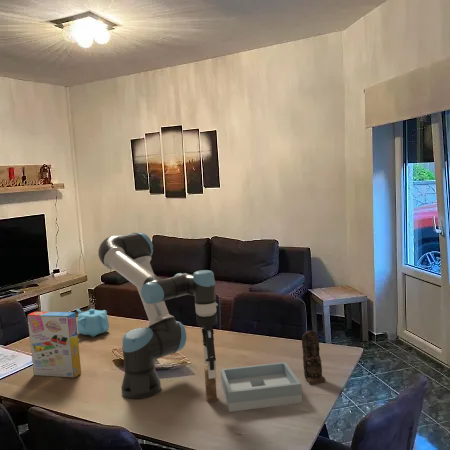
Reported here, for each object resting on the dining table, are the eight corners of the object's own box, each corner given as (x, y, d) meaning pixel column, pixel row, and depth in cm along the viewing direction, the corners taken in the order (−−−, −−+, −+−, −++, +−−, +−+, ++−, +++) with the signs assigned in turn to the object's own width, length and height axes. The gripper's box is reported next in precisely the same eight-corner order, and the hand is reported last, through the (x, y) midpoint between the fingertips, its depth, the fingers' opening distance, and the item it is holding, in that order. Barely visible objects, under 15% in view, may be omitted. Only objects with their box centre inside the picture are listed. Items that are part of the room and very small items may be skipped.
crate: (229, 411, 158) (228, 392, 157) (221, 386, 178) (220, 369, 177) (301, 402, 162) (301, 383, 161) (286, 378, 181) (285, 361, 181)
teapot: (111, 327, 260) (109, 304, 258) (107, 336, 243) (105, 312, 242) (78, 330, 257) (76, 307, 256) (72, 340, 241) (69, 315, 240)
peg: (207, 401, 166) (205, 370, 165) (206, 397, 170) (204, 366, 169) (216, 400, 167) (215, 368, 166) (215, 396, 170) (213, 365, 169)
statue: (310, 385, 174) (308, 334, 172) (302, 378, 181) (300, 329, 179) (326, 382, 176) (324, 332, 174) (317, 375, 183) (315, 326, 181)
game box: (81, 373, 198) (76, 312, 195) (74, 378, 193) (68, 315, 190) (41, 370, 204) (35, 310, 201) (32, 375, 198) (26, 314, 196)
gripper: (221, 322, 153) (225, 383, 155) (212, 303, 178) (216, 356, 180) (198, 324, 152) (203, 386, 154) (193, 305, 177) (197, 358, 179)
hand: (210, 370), depth 167 cm, fingers open, 13 cm apart
